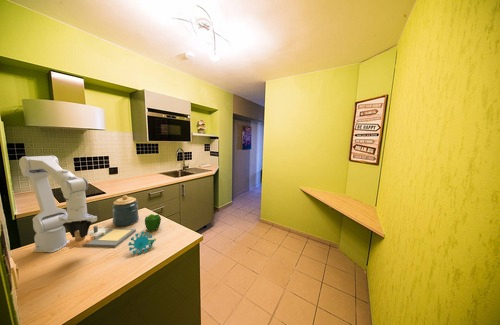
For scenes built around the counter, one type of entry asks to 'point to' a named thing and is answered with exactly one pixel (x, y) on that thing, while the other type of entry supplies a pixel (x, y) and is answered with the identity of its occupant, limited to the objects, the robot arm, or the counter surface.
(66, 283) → the counter surface
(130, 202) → the canister
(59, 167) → the robot arm
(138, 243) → the teal virus toy
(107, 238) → the gear board
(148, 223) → the bell pepper
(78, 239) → the wood gear
